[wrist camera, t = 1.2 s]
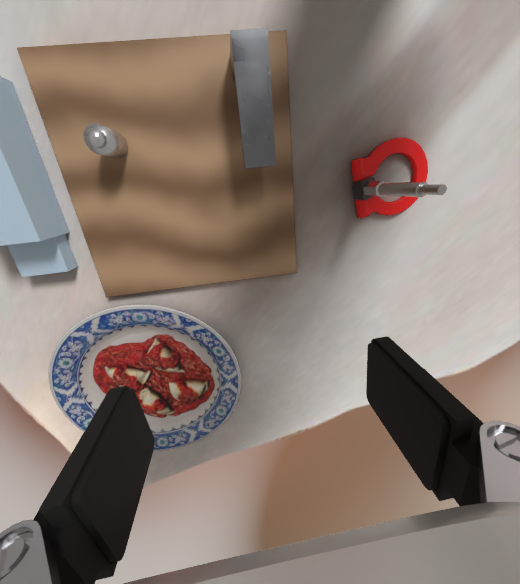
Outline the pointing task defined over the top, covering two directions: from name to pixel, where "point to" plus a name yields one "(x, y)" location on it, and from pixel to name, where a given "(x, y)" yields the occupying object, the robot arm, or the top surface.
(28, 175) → the link
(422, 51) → the top surface
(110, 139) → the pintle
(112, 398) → the robot arm
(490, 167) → the top surface
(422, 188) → the tow hook
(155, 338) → the ceramic plate
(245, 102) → the bracket
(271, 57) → the board
